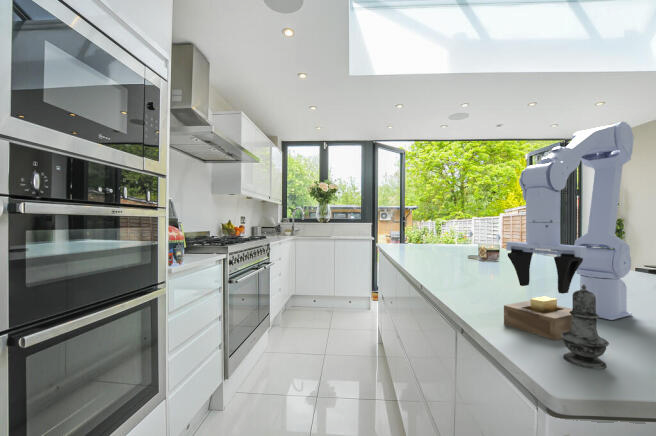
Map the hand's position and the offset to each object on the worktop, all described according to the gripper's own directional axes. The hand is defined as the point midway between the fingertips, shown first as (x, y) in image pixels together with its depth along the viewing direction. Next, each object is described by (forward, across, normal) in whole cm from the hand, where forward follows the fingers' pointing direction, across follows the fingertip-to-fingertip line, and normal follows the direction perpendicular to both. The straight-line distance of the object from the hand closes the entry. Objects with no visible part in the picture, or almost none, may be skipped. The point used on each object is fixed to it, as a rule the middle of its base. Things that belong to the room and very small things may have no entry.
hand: (542, 288), depth 65 cm
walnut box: (+8, 0, 0) cm, 8 cm away
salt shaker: (+8, +12, -10) cm, 18 cm away
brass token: (+8, 0, 0) cm, 8 cm away
